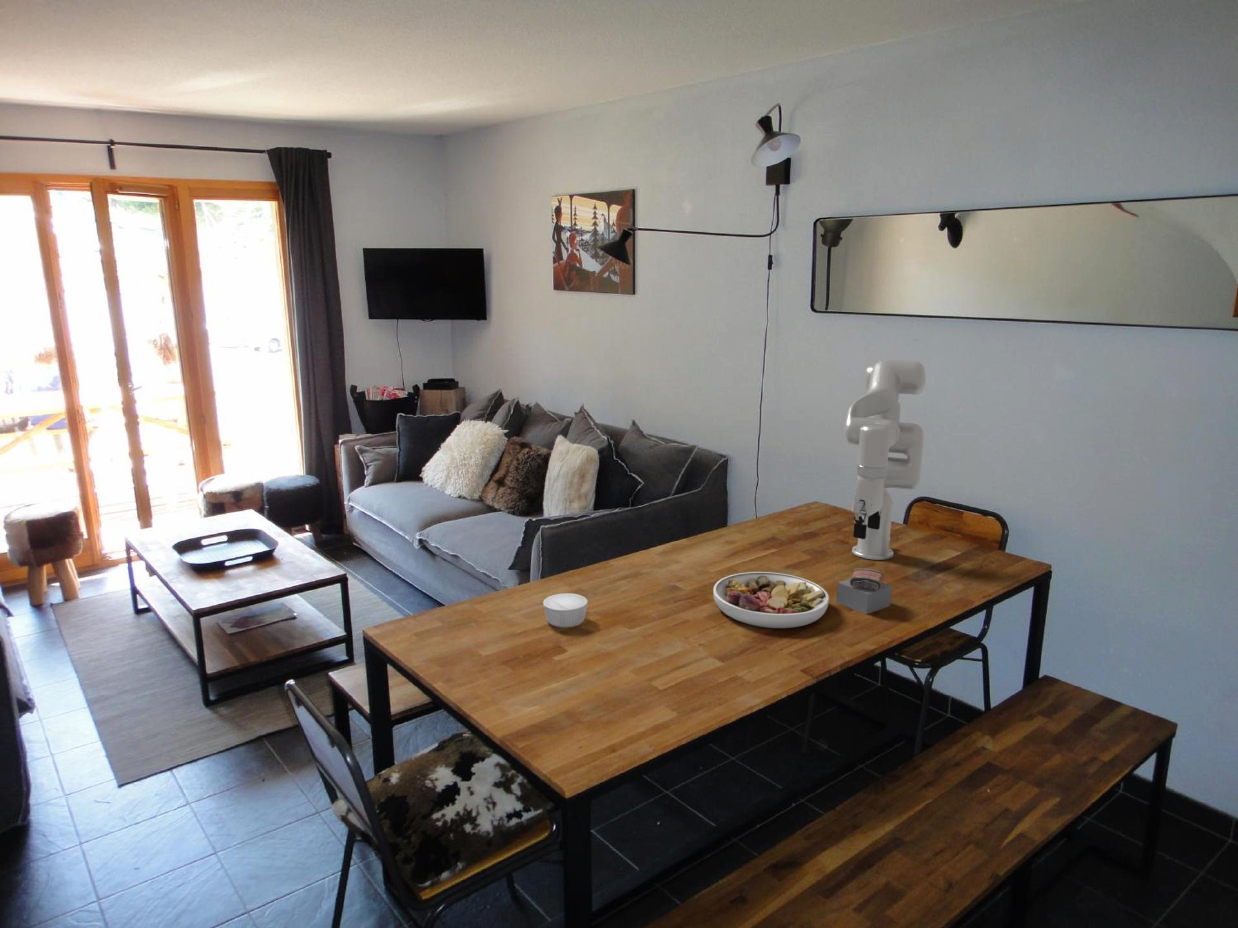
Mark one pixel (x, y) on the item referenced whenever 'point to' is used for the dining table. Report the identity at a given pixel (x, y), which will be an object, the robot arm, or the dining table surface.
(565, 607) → the ramekin
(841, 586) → the gray block
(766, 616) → the bowl
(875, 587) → the lighter
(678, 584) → the dining table surface
